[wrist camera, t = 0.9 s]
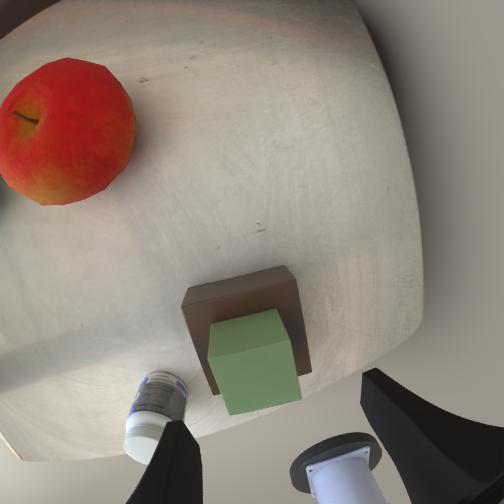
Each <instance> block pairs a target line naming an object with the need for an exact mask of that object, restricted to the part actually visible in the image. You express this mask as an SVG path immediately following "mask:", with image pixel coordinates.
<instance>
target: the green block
mask: <svg viewBox="0 0 504 504" xmlns="http://www.w3.org/2000/svg"><path fill="white" fill-rule="evenodd" d="M208 361H209V364H210V367H211V369H212V372H213V375H214V377H215V380H216V383H217V385H218V388H219V390H220V393H221V395H222V398H223V401H224V403H225V406H226V408H227V410H228V413H229V415H235V414H240V413H245V412H250V411H255V410H259V409H264V408H268V407H273V406H277V405H281V404H285V403H289V402H292V401H296V400H300V399H301V398H302V397H301V392H300V387H299V382H298V377H297V371H296V366H295V361H294V356H293V351H292V346H291V341H290V338H289V336H288V333H287V331H286V329H285V327H284V324H283V322H282V320H281V318H280V315H279V313H278V311H277V309H272V310H268V311H264V312H260V313H256V314H251V315H247V316H243V317H239V318H234V319H230V320H226V321H221V322H217V323H212V324H211V332H210V341H209V351H208Z"/></svg>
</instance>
